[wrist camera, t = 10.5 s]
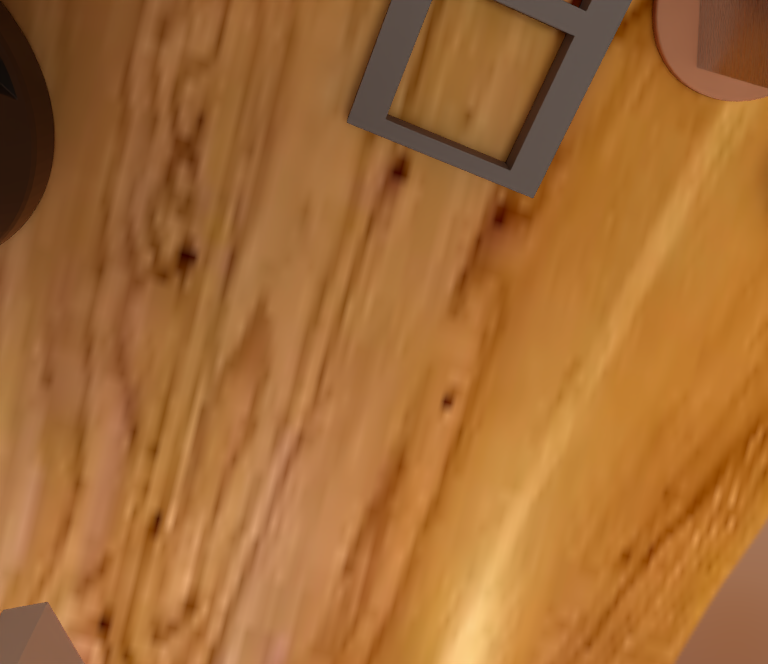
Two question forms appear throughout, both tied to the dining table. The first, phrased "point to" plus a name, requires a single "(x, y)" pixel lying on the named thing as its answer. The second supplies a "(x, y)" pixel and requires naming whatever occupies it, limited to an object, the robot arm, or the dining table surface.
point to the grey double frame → (548, 114)
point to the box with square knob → (734, 39)
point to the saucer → (693, 52)
